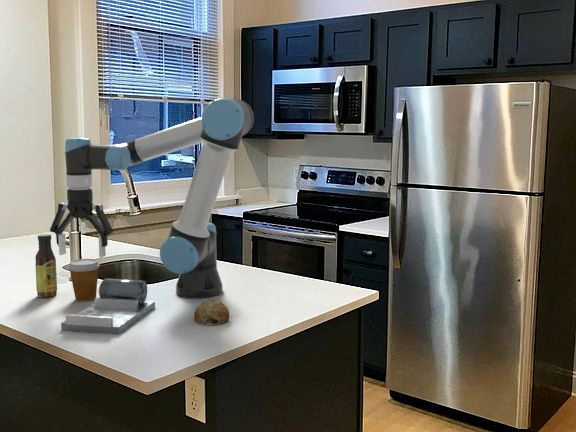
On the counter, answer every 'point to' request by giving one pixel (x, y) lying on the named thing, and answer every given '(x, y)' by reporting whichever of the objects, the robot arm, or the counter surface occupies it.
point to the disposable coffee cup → (84, 278)
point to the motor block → (112, 308)
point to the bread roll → (211, 313)
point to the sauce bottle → (45, 268)
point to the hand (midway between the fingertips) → (82, 255)
